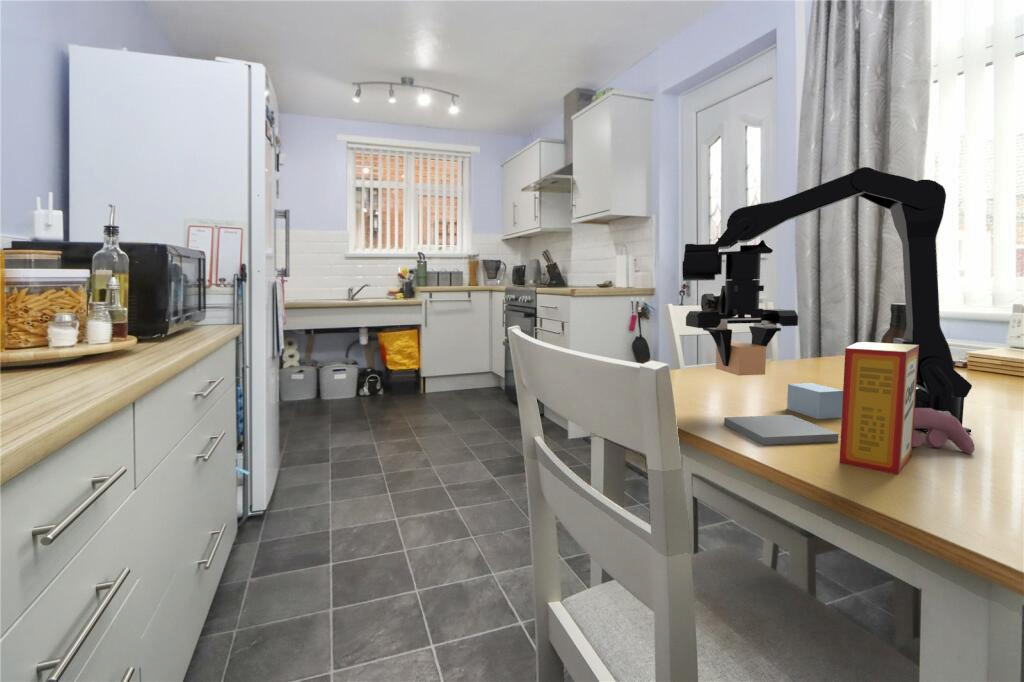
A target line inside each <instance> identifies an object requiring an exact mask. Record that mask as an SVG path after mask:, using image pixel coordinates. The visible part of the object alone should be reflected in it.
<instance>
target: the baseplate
mask: <svg viewBox="0 0 1024 682" xmlns="http://www.w3.org/2000/svg"><path fill="white" fill-rule="evenodd" d="M723 419H724V420H723V425H725V426H726V427H729V428H730V429H732V430H734V431H736V432H738V433H739V434H742V435H744V436H746V437H747V438H749V439H751V440H753V441H755V442H757V443H759V444H761V445H762V446H771V445H793V444H796V445H797V444H810V443H811V444H815V443H818V444H819V443H833V442H834V443H837V442H839V433H837V432H835V431H832V430H830V429H827V428H825V427H823V426H819V425H817V424H814V423H813V422H810V421H808V420H807V421H806V420H804V419H802V418H800V417H797V416H794V415H792V414H778V415H777V414H774V415H772V414H771V415H754V416H752V415H751V416H749V415H748V416H731V417H729V416H728V417H724V418H723Z"/></svg>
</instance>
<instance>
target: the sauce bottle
mask: <svg viewBox="0 0 1024 682" xmlns="http://www.w3.org/2000/svg"><path fill="white" fill-rule="evenodd" d="M889 311H890V323H889V328H888V329H887V330H886V332H885V333H884V334H883V335H882V337H881V341H880V343H893V344H894V342H893V338H900V339H903V336H904V333H905V330H906V326H907V322H906V303H905V302H903V303H902V302H901V303H900V302H897V303H896V302H894V303H891V304H890V310H889Z"/></svg>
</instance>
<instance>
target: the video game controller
mask: <svg viewBox="0 0 1024 682" xmlns="http://www.w3.org/2000/svg"><path fill="white" fill-rule="evenodd" d="M963 427H964V426H963V424H962V425H961V423H960V422H959V420H958V419H957V418H956V417H954V416H952V415H951V413H950V412H948V411H937V410H934V409H931V408H915V412H914V428H913V443H912V449H913V448H917V447H919V446H921V445H922V444H923V441H924V442H925V443H926V445H928V446H929V447H930V448H933V449H939V448H942V447H944V446H945V445H946V442H947V439H949V441H951V442H952V443H953V444H954V445H955V447H957V448H958V449H959V450H960V451H961V452H963V453H965V454H967V455H972V454H974V452H975V443H974V440H973V439H972V437H971V436H970V433H967V432H966V430H965V429H964V428H963ZM918 428H923V429H928V432H927V431H926V433H925V436H924V440H923V437H922V435H921V433H920V432H918V431H917V430H916V429H918ZM918 430H919V429H918Z"/></svg>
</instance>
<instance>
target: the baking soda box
mask: <svg viewBox="0 0 1024 682" xmlns="http://www.w3.org/2000/svg"><path fill="white" fill-rule="evenodd" d="M918 352H919V345H911V344H893V343H881V342H874V341H873V342H872V341H861V342H860V341H859V342H857V341H856V342H855V343H853V344H850V345H849V346H847V347H845V349H844V364H843V365H844V366H843V368H844V369H843V385H842V386H843V387H842V390H843V404H842V417H841V423H840V424H841V425H840V426H841V428H840V446H839V447H840V448H839V463H840V464H844V465H849V466H853V467H854V466H855V467H859V468H863V469H864V468H865V469H868V470H874V471H879V472H885V473H891V474H894V475H900V473H901V472H902V471H903V469H904V468H905V466H906V465H907V464H908V462H909V461H910V460H911V458H912V457H913V454H912V453H913V448H912V443H913V428H914V412H915V397H916V389H917V387H916V382H917V367H918Z"/></svg>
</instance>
